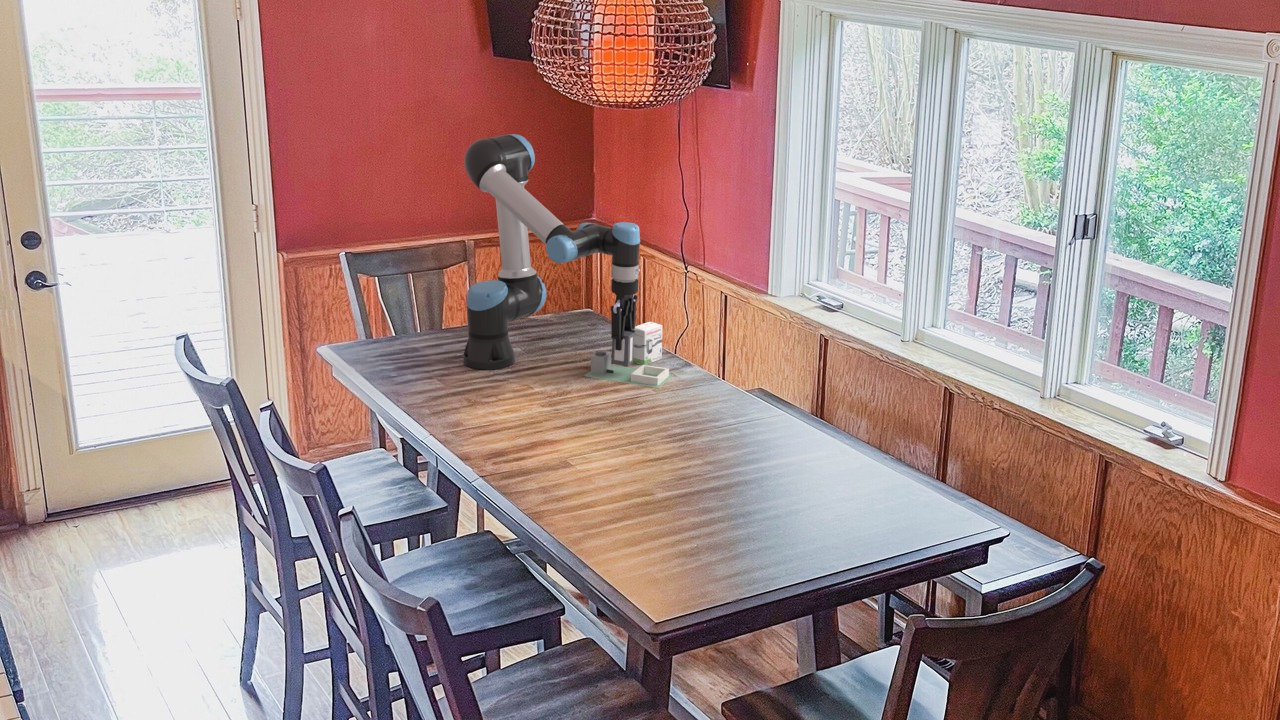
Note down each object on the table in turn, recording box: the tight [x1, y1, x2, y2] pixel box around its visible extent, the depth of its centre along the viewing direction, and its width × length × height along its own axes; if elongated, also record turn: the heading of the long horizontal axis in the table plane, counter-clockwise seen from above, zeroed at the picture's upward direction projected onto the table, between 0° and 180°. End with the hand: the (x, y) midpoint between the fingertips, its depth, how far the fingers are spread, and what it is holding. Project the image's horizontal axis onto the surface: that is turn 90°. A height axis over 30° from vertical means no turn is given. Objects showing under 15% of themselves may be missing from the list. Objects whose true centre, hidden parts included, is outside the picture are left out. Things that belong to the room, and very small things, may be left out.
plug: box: [611, 331, 634, 368], centre depth 354 cm, size 5×4×9 cm
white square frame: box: [631, 364, 670, 386], centre depth 353 cm, size 8×9×2 cm
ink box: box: [633, 321, 663, 366], centre depth 367 cm, size 9×5×12 cm, turn 140°
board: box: [583, 364, 674, 389], centre depth 356 cm, size 23×12×1 cm, turn 67°
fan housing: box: [590, 349, 614, 374], centre depth 358 cm, size 6×5×6 cm
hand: (622, 357), depth 355 cm, fingers closed on plug, 4 cm apart
